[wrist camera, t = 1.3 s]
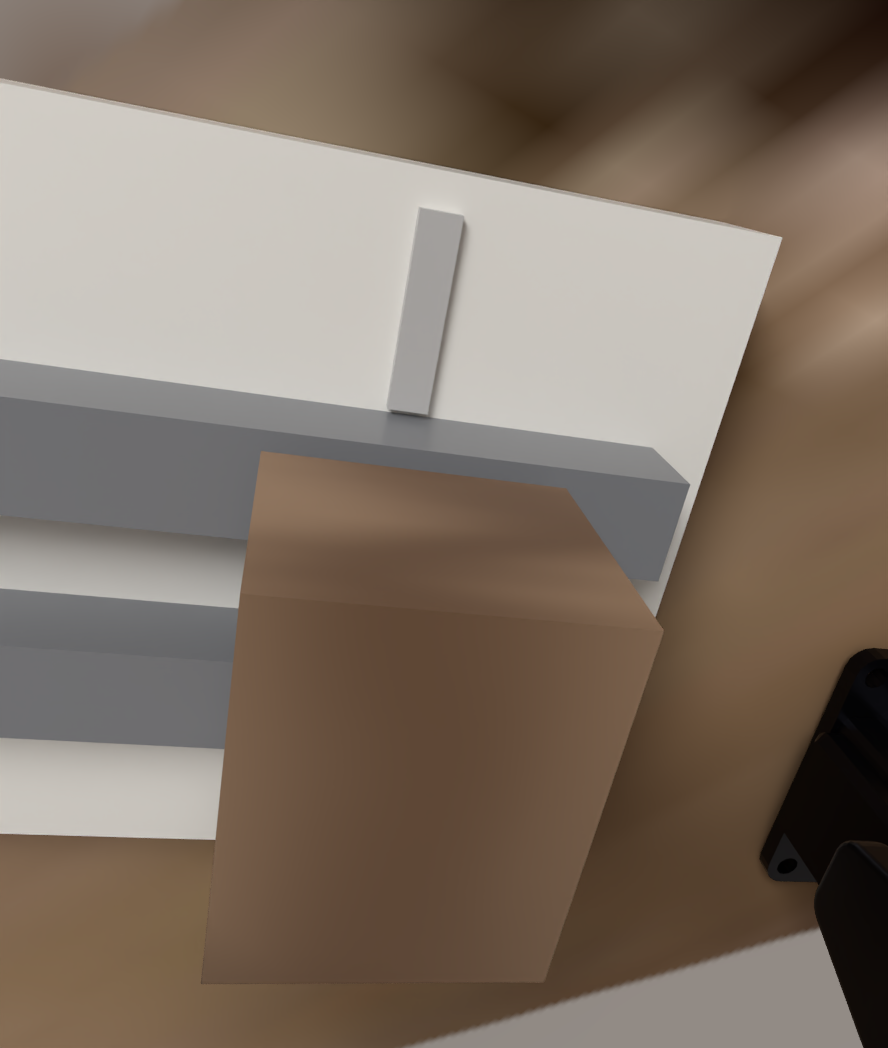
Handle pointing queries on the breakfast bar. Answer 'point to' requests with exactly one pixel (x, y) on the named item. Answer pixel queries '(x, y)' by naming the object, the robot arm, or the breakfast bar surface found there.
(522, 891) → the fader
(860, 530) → the breakfast bar surface
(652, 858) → the breakfast bar surface
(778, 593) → the breakfast bar surface
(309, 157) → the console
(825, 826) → the robot arm
